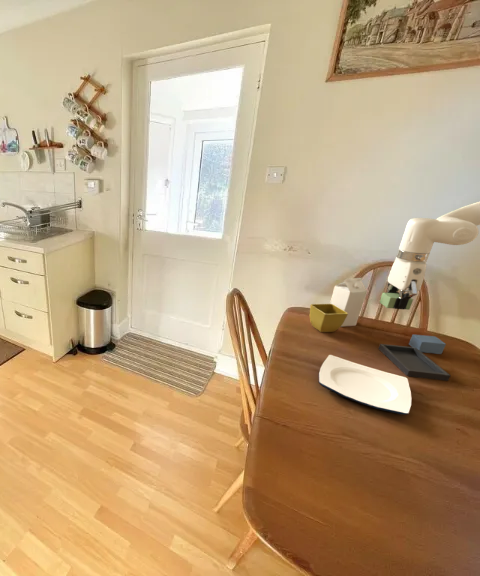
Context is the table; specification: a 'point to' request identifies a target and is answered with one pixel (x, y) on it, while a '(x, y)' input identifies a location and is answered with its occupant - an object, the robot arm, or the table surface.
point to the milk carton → (349, 299)
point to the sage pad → (392, 300)
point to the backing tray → (413, 362)
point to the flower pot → (326, 317)
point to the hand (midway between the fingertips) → (394, 304)
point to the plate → (366, 385)
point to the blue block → (427, 344)
